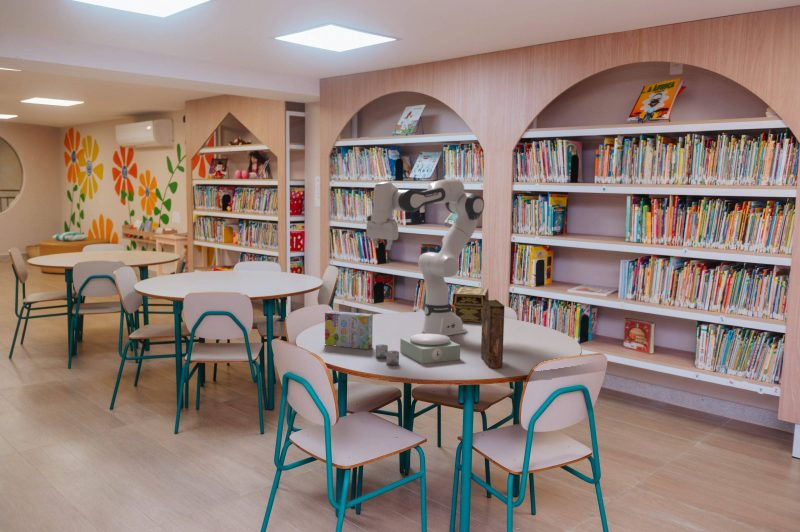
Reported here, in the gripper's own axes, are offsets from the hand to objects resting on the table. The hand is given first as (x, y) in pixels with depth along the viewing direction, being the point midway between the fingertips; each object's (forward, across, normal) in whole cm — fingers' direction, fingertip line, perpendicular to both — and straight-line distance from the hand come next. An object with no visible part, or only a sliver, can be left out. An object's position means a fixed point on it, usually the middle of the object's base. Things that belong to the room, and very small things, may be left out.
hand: (381, 248), depth 289 cm
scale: (+43, -32, -3) cm, 53 cm away
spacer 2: (+43, -34, +18) cm, 57 cm away
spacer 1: (+43, -23, +15) cm, 51 cm away
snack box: (+43, +1, +16) cm, 46 cm away
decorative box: (+42, +18, -74) cm, 87 cm away
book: (+43, -55, -17) cm, 72 cm away
